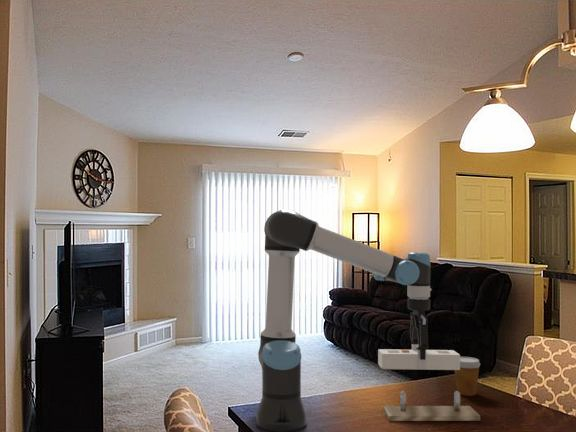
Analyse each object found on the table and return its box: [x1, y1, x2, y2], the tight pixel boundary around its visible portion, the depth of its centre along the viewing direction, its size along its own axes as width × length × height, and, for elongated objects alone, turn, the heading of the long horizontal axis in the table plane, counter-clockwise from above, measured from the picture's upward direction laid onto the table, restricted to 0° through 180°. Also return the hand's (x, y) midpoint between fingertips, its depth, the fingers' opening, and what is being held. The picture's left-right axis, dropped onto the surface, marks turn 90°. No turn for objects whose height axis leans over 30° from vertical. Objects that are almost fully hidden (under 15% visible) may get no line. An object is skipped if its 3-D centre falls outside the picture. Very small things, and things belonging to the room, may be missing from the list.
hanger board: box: [382, 405, 481, 422], centre depth 160 cm, size 28×9×2 cm, turn 91°
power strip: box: [377, 348, 461, 371], centre depth 173 cm, size 26×7×6 cm, turn 90°
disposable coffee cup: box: [454, 356, 481, 397], centre depth 184 cm, size 10×10×12 cm
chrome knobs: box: [399, 390, 461, 412], centre depth 160 cm, size 19×2×7 cm, turn 91°
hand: (418, 365), depth 173 cm, fingers closed on power strip, 7 cm apart
